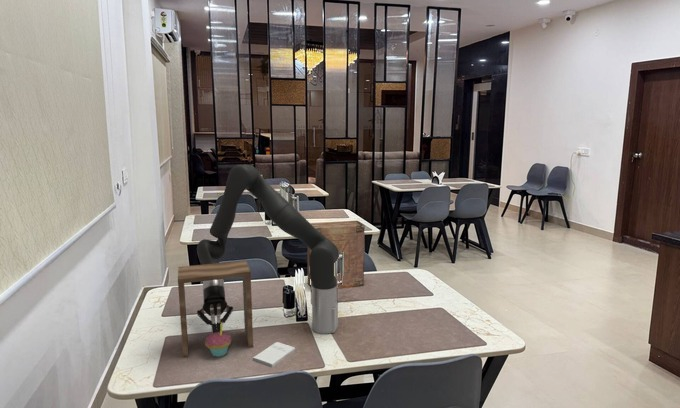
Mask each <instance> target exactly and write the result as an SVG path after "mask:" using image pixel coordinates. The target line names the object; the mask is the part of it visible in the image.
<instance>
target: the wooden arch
mask: <svg viewBox="0 0 680 408" xmlns="http://www.w3.org/2000/svg"><path fill="white" fill-rule="evenodd" d="M177 270H178V271H177V289H178V301H179V316H180V331H181V333H180V334H181V344H182V358H183V359H186V358H189V342H188V341H189V337H188V335H189V334H188V322H187V308H186V306H187V305H186V291H185V284H188V283H198V282H203V281H209V280H218V279H223V280H224V279H225V280H226V279H227V280H228V279H234V278H235V279H236V278H242V295H243V323H244V325H243V326H244V334H245V339H246V341H247V345H248V348H254V331H253V330H254V328H253V327H254V325H253V324H254V323H253V305H252V304H253V303H252V300H253V299H252V279H251V278H252V272H251V270H250V267H249V264H248V261H247V260H237V261H226V262H220V263H214V264H204V265H201V264H196V265H184V266H178V269H177Z"/></svg>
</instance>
